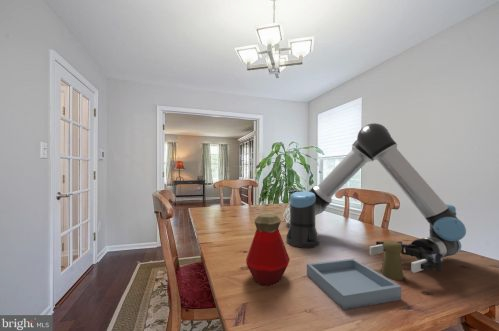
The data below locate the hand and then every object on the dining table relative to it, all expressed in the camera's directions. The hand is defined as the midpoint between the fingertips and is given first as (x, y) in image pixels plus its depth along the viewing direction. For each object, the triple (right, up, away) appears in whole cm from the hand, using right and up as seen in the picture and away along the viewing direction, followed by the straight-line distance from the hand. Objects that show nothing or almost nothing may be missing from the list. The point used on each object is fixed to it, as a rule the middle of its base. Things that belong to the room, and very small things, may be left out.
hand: (389, 258), depth 69 cm
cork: (+2, -6, +1) cm, 6 cm away
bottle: (-40, -6, -1) cm, 40 cm away
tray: (-16, -6, -6) cm, 18 cm away
